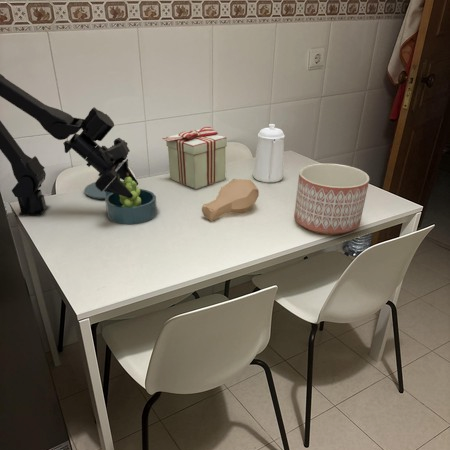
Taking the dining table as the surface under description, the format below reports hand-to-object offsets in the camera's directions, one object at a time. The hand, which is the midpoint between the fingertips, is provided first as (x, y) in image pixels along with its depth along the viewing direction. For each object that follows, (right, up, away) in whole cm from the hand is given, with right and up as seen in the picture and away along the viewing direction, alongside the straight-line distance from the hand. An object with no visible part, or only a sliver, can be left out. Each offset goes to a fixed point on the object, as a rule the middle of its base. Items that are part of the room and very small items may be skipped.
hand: (134, 190), depth 132 cm
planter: (+57, -9, +1) cm, 57 cm away
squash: (+28, -5, +7) cm, 30 cm away
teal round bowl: (-2, -6, +4) cm, 7 cm away
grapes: (-2, -5, +4) cm, 7 cm away
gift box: (+15, +11, +29) cm, 35 cm away
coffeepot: (+42, +12, +31) cm, 54 cm away
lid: (-12, +5, +18) cm, 22 cm away
